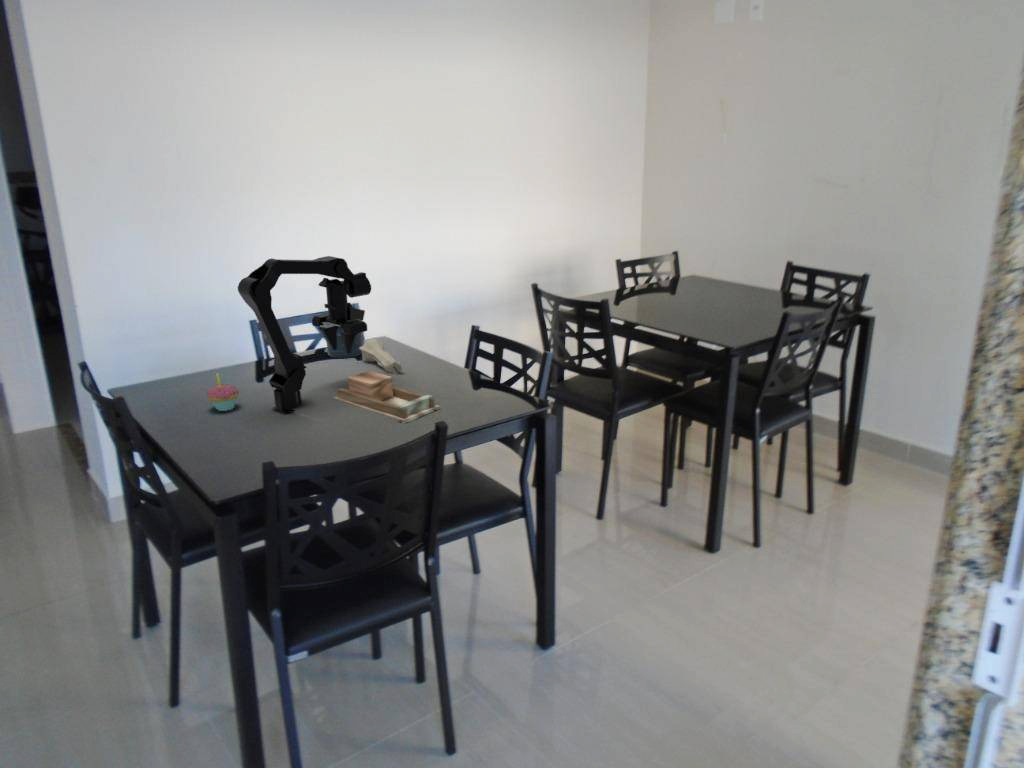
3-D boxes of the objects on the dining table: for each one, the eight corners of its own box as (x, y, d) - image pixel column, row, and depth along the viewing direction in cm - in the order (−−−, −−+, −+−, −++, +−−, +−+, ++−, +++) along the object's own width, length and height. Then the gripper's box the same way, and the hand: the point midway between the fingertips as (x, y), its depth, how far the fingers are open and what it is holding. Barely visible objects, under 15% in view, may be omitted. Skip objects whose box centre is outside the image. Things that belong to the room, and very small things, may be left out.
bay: (403, 424, 200) (402, 410, 199) (333, 401, 218) (332, 388, 217) (439, 409, 211) (439, 396, 209) (369, 388, 229) (368, 376, 227)
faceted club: (384, 353, 261) (412, 375, 241) (362, 363, 258) (389, 386, 238) (376, 331, 257) (404, 352, 237) (354, 341, 254) (380, 363, 234)
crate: (372, 404, 212) (370, 384, 210) (349, 396, 218) (347, 377, 216) (393, 396, 218) (392, 376, 216) (370, 389, 224) (369, 370, 222)
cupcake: (235, 413, 210) (230, 373, 206) (205, 414, 209) (198, 374, 205) (244, 403, 218) (238, 364, 214) (214, 404, 217) (208, 365, 213)
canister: (366, 357, 261) (362, 307, 255) (328, 360, 257) (323, 310, 251) (362, 347, 272) (358, 300, 267) (326, 350, 269) (321, 302, 263)
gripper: (379, 299, 216) (383, 350, 221) (338, 291, 228) (343, 340, 233) (349, 306, 208) (354, 359, 213) (308, 298, 219) (313, 348, 224)
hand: (341, 351), depth 221 cm, fingers open, 6 cm apart
